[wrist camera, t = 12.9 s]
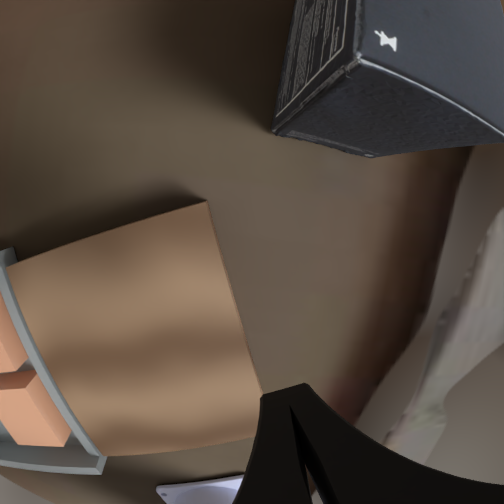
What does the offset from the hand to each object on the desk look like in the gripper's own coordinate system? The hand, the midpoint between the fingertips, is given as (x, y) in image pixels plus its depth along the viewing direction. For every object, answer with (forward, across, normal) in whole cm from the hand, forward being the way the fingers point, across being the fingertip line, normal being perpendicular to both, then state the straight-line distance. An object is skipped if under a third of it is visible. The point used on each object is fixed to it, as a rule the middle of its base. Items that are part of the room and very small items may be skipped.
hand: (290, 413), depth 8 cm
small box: (+10, -8, -12) cm, 17 cm away
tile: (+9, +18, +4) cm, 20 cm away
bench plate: (+9, +7, +1) cm, 12 cm away
